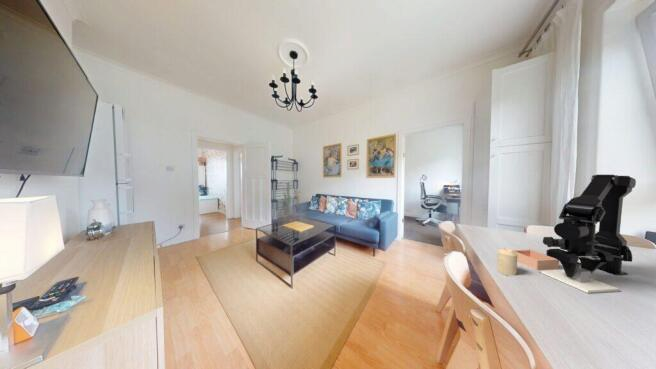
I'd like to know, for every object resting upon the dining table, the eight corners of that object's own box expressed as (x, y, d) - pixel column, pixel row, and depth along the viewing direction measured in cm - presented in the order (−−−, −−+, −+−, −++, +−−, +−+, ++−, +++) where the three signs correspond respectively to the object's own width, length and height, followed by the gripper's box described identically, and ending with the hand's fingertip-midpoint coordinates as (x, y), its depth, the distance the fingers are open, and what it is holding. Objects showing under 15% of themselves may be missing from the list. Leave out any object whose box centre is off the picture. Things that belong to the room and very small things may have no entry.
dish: (529, 258, 83) (529, 249, 83) (558, 270, 73) (559, 259, 73) (510, 259, 82) (510, 250, 82) (536, 271, 72) (537, 260, 72)
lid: (567, 271, 71) (568, 259, 71) (618, 290, 59) (619, 277, 59) (541, 272, 70) (542, 261, 70) (587, 292, 58) (588, 279, 58)
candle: (520, 277, 68) (521, 252, 67) (503, 276, 69) (505, 251, 68) (508, 270, 73) (510, 246, 73) (493, 268, 74) (494, 245, 74)
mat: (566, 271, 72) (566, 270, 72) (622, 293, 59) (622, 291, 59) (538, 273, 71) (538, 272, 71) (588, 295, 58) (588, 294, 58)
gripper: (570, 228, 72) (567, 264, 73) (530, 229, 71) (527, 266, 72) (616, 238, 61) (612, 280, 62) (570, 239, 60) (566, 283, 61)
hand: (576, 276), depth 65 cm, fingers open, 6 cm apart
